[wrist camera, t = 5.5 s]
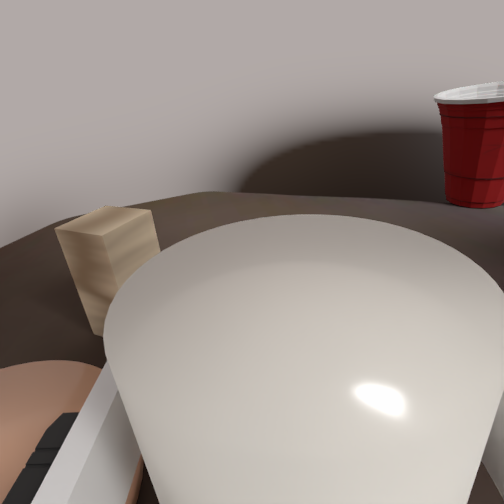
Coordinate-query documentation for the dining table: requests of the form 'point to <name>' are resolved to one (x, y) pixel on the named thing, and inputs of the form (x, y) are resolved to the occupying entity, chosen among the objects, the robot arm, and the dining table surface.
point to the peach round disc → (41, 412)
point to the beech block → (106, 254)
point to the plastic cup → (473, 144)
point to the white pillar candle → (309, 364)
